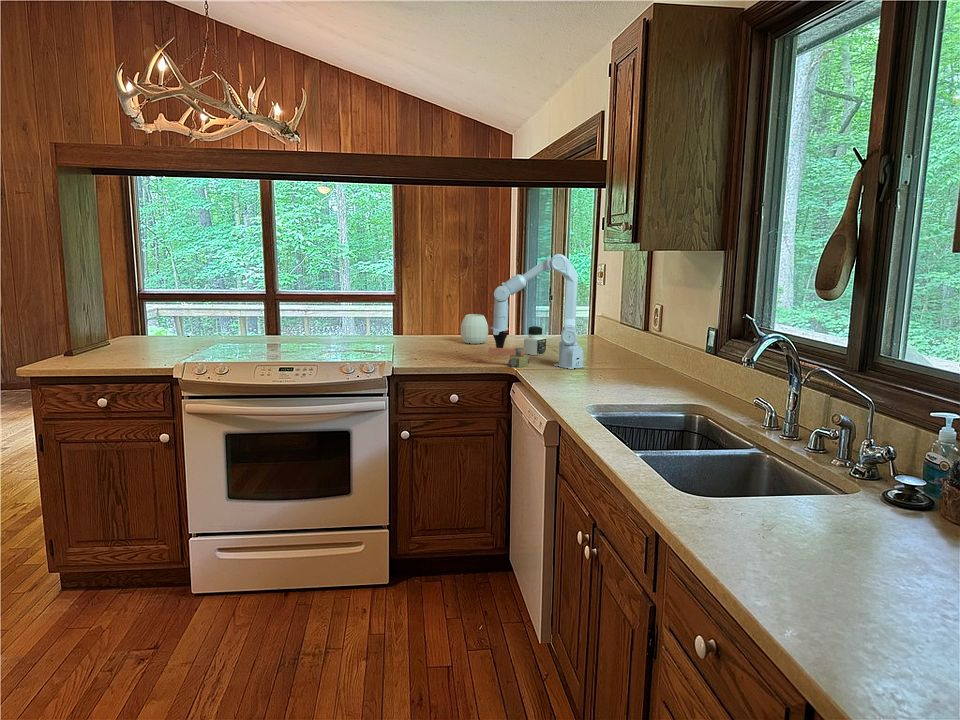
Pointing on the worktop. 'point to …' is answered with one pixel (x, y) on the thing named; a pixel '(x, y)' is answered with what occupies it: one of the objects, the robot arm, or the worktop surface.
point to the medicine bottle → (535, 341)
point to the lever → (507, 351)
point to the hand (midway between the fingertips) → (499, 350)
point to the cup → (474, 329)
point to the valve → (518, 361)
